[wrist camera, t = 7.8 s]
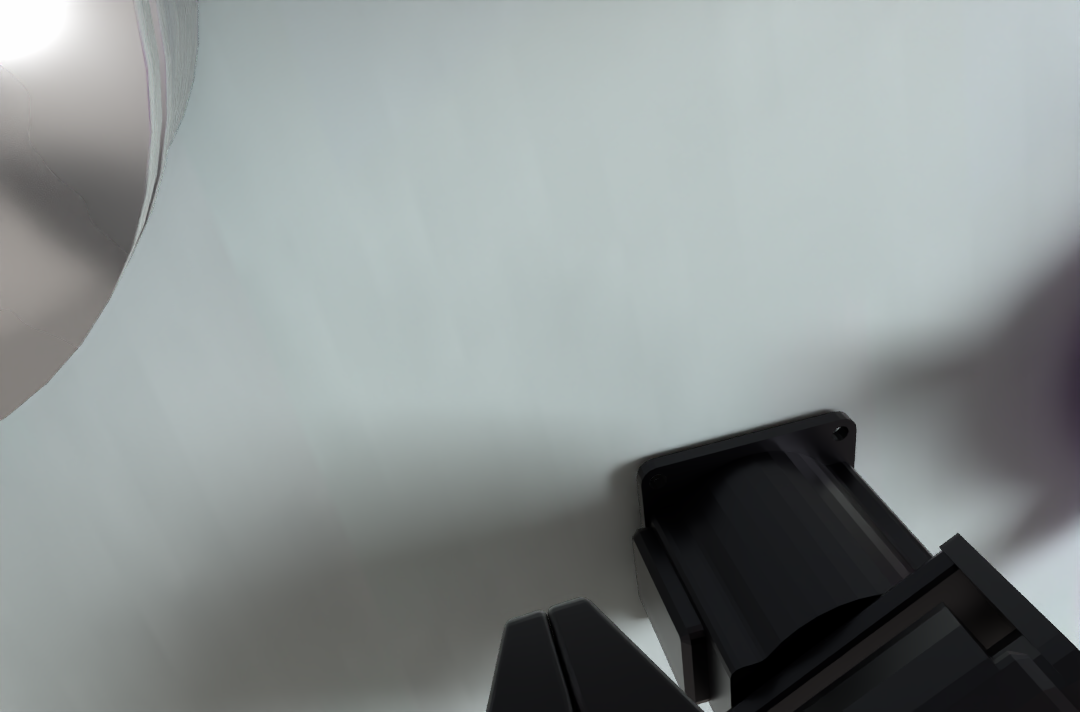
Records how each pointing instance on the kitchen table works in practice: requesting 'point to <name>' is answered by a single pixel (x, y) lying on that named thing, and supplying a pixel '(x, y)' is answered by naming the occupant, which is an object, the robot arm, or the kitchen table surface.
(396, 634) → the kitchen table surface
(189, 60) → the pot
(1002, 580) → the robot arm
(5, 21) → the lid
